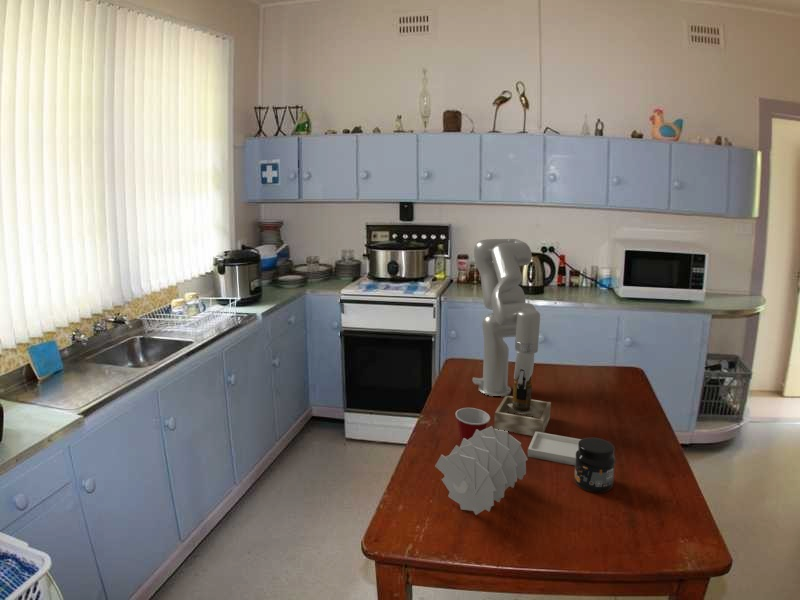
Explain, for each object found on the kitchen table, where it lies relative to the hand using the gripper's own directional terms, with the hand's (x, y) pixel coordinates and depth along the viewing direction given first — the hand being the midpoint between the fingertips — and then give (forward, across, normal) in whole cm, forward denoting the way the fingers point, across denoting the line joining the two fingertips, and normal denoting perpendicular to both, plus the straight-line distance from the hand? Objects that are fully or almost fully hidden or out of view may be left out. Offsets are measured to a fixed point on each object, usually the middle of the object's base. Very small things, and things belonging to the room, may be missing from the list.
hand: (523, 395), depth 201 cm
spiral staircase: (+9, +50, 0) cm, 51 cm away
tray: (+9, +17, +16) cm, 25 cm away
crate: (+10, +1, +1) cm, 10 cm away
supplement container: (+9, +32, +27) cm, 43 cm away
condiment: (+5, +1, 0) cm, 5 cm away
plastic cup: (+10, +26, -10) cm, 30 cm away
